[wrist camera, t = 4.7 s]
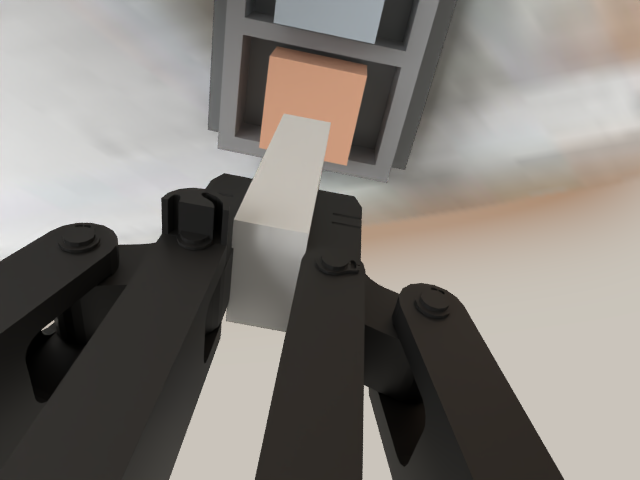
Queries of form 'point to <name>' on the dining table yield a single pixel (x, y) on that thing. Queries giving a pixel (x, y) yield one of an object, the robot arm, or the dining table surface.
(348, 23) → the key slate
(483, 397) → the robot arm
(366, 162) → the grey compartment tray
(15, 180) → the dining table surface
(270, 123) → the key terracotta
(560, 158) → the dining table surface
